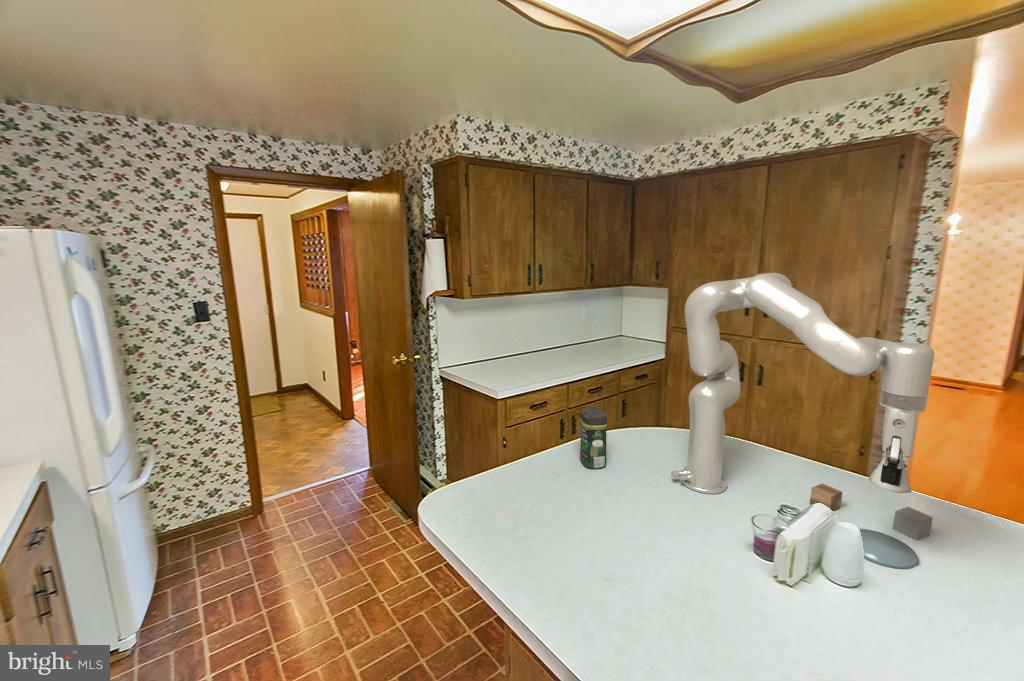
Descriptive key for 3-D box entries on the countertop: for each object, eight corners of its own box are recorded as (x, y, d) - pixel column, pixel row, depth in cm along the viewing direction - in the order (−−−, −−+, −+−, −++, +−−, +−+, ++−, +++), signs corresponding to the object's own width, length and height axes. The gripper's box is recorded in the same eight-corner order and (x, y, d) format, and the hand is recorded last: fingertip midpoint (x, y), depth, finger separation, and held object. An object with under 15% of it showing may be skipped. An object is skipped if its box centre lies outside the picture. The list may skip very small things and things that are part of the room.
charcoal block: (916, 541, 104) (919, 521, 104) (892, 529, 109) (895, 510, 108) (929, 536, 106) (932, 517, 105) (905, 524, 111) (908, 506, 110)
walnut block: (829, 513, 116) (831, 496, 115) (809, 504, 120) (811, 487, 119) (840, 508, 118) (842, 491, 117) (820, 499, 123) (822, 483, 122)
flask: (919, 496, 94) (927, 452, 92) (880, 492, 96) (887, 449, 94) (897, 479, 101) (904, 438, 99) (861, 476, 103) (867, 436, 101)
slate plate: (879, 571, 94) (879, 567, 94) (830, 534, 107) (830, 530, 107) (933, 566, 96) (934, 562, 96) (878, 530, 108) (879, 526, 108)
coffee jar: (577, 457, 150) (578, 405, 147) (600, 456, 151) (601, 404, 147) (584, 470, 140) (586, 415, 137) (609, 469, 141) (610, 414, 138)
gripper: (926, 414, 86) (912, 500, 90) (925, 394, 99) (913, 470, 102) (877, 406, 91) (865, 487, 94) (882, 388, 104) (871, 460, 107)
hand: (890, 477), depth 98 cm, fingers closed on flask, 5 cm apart
